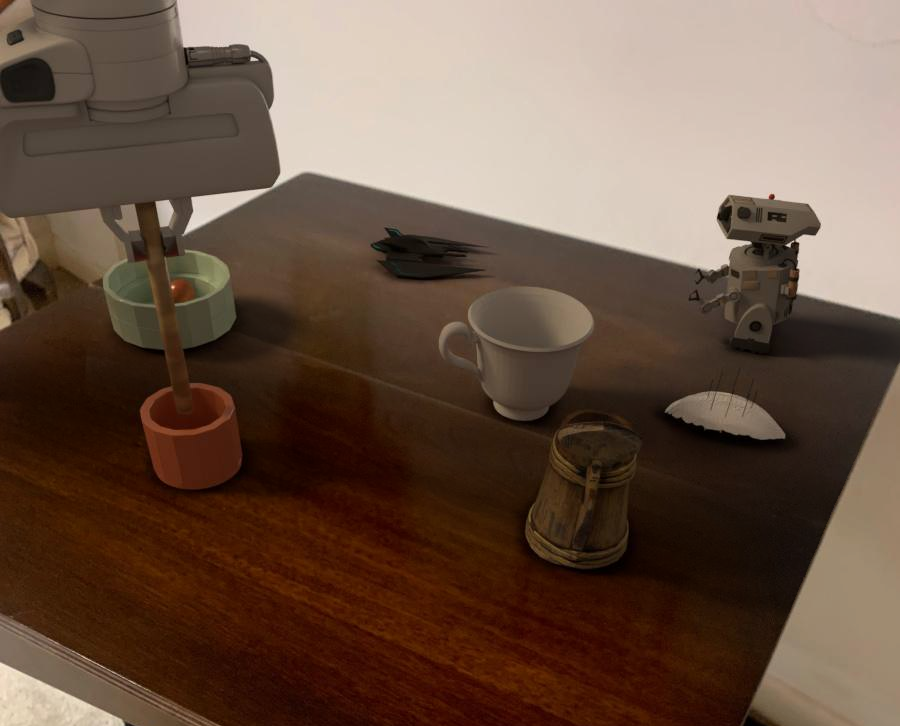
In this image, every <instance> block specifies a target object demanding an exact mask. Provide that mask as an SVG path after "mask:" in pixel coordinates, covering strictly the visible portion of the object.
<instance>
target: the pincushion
mask: <svg viewBox="0 0 900 726" xmlns="http://www.w3.org/2000/svg"><path fill="white" fill-rule="evenodd" d="M740 371H741V367H739V369H738V372H737V375H736V378H735V381H734V385H733V388H732V391H731V393H730V392H725V391H724V392H723V391H718V388H719V385H720V383H721V379H722V375H723V371H721V373H720V377H719V380H718V383H717V387H716V390H715V391H712V390H711V389H712V385H713V382H714V379H712V380H711V384H710V386H709V391H701V392H697V393H695V394H691V395H690V394H689V395H687V396H684V397H682V398H681V399H680V398H679V399H678V400H676V401H674V402H672V403H670V404H669V406H667V408H665V411H664V413H665V414H668V415H671V416H672V417H674V419H680V418H681V419H682V421H684V423H686V424H693V425H694V426H697V427H698V426H702V427H703V431H706V430H712V431H713V430H714V431H719V433H722V432H723V431H724V433H725V432H726V433H729V434H732V435H735V436H739V435H740V436H748V437H750V438H752V439H756V440H760V441H763V440H777V439H779V440H780V439H783V440H785V439H786V433H785V432H784V431H783V429H782V427H780V425H779V424H778V423H777V422H776V420H775V419H774V418H773V417H772V416H771V414H770V413H768V412H767V411H766V410H765V409H764V408H763V407H761V406H759V405H758V404H757V403H755V399H756V397H757V394H758V391H756V392H755V395H754V398H753V401H752V400H750V396H751V393H750V392H751V390H752V386H753V382H754V380H755V378H752V381H751V384H750V387H749V390H748V392H747V396H746V397H743V396H741V395H737V394H734V393H735V389H734V388H735V386H736V383H737V379H738V377H739V374H740Z"/></svg>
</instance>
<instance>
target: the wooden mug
mask: <svg viewBox="0 0 900 726" xmlns="http://www.w3.org/2000/svg"><path fill="white" fill-rule="evenodd" d="M643 437H644V436H642V435H641V434H640V433H638V432H636V430H634V429H633V426H632V424H630V423H629V422H628V421H627V420H626V419H625V418H623V417H621V416H619V415H618V414H616V413H614V412H612V411H609V410H602V409H596V408H581V409H577V410H574V411H572V412H571V413H569V414H568V415H566V416H565V417H563V420H562V421H561V424H560V427H559V429H557V431H556V432H555V434H554V437H553V439H552V442H551V444H550V445H551V446H550V448H549V453H548V458H549V459H548V460H549V461H548V465H547V468H546V471H545V474H544V475H543V479H542V482H541V485H540V488H539V491H538V494H537V495H536V496H537V497H536V500H535V502H534V503H533V504H532V506H531V507H530V509H529V512H528V515H527V518H526V522H525V528H524V533H525V538H526V540H527V542H528V545H529V547H530V549H532V550H533V551H534V553H535V554H536V555H538V556H539V557H540V558H541V559H544V560H546V561H548V562H550V563H552V564H555V565H558V566H561V567H563V568H568V569H576V570H582V571H583V570H586V571H587V570H596V569H600V568H605V567H607V566H609V565H612V564H614V563H616V562H618V561H619V560H620V558H621V557H622V556H623V555H624V553H625V552H626V551H627V547H628V539H629V533H630V532H629V531H630V530H629V520H628V506H629V494H630V483H631V480H632V479H633V478H635V474H636V471H637V454H638V453H639V452H641V450H642V448H643V446H644V438H643Z"/></svg>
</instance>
